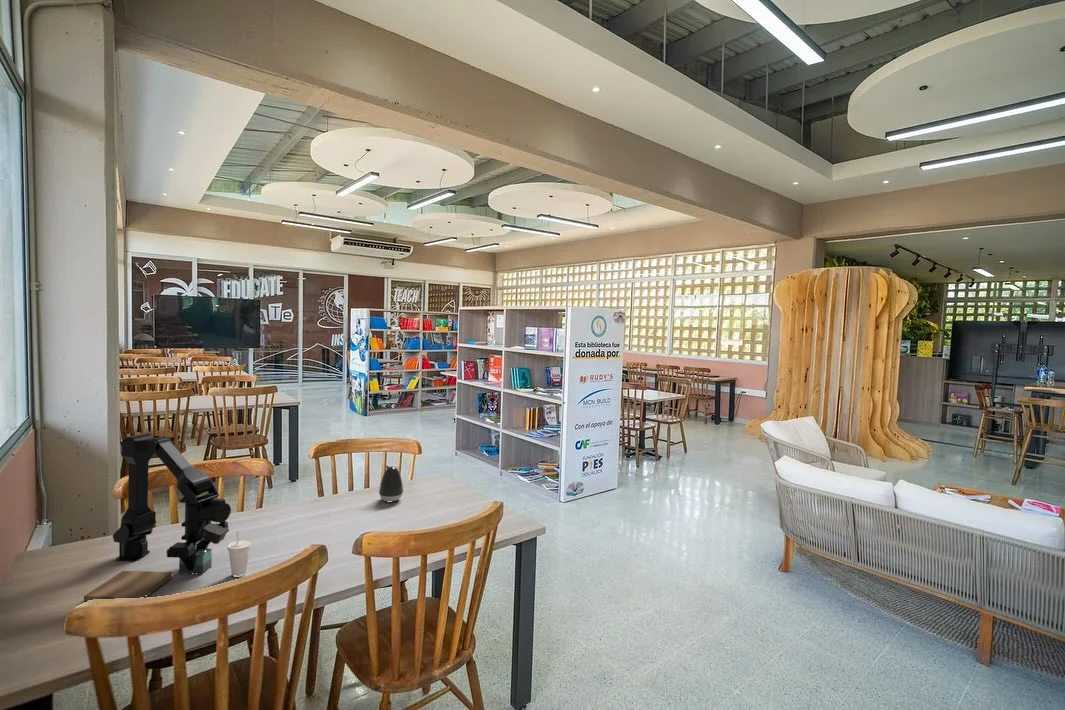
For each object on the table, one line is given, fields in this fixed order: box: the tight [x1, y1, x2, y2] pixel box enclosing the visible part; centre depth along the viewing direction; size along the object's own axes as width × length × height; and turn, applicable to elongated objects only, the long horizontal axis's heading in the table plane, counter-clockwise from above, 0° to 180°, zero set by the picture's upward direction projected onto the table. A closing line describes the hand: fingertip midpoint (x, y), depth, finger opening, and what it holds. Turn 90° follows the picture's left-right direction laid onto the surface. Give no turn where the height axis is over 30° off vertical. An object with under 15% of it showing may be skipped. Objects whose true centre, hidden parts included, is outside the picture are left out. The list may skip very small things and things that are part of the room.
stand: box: [83, 570, 173, 603], centre depth 145 cm, size 14×14×2 cm
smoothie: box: [226, 530, 252, 578], centre depth 156 cm, size 6×6×14 cm
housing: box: [178, 548, 213, 575], centre depth 158 cm, size 7×4×6 cm, turn 93°
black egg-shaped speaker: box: [378, 465, 404, 502], centre depth 226 cm, size 10×10×15 cm
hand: (195, 566), depth 158 cm, fingers closed on housing, 4 cm apart
